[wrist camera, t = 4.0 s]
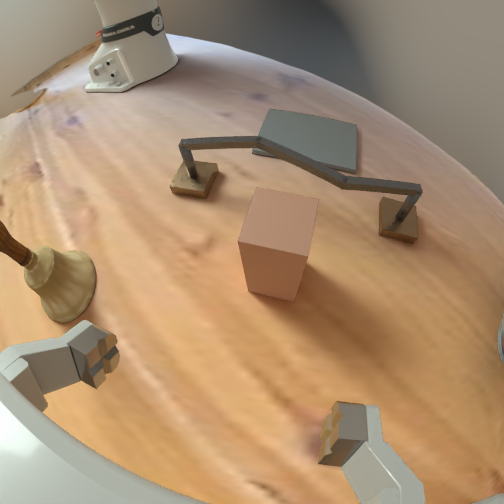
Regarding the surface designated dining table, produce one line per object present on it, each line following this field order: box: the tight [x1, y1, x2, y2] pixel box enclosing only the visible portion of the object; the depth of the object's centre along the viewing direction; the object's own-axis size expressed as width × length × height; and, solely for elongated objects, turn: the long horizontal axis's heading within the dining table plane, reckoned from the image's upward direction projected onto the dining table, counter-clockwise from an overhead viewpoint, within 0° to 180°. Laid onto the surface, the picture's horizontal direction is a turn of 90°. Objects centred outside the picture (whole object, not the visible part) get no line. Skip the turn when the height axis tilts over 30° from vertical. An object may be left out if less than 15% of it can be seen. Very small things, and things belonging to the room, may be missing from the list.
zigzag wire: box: [170, 136, 422, 244], centre depth 25 cm, size 26×4×6 cm, turn 74°
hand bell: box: [0, 221, 96, 323], centre depth 18 cm, size 8×8×16 cm
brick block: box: [238, 187, 319, 302], centre depth 20 cm, size 4×4×9 cm
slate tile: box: [252, 109, 357, 174], centre depth 32 cm, size 12×9×1 cm
